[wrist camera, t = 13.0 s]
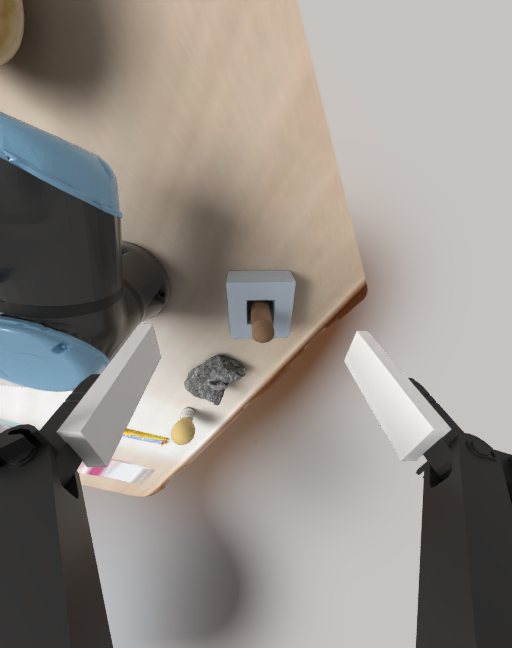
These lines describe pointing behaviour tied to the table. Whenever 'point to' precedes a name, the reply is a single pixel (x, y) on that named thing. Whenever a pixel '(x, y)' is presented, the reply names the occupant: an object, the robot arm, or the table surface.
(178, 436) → the light bulb
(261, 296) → the socket
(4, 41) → the decorative ball
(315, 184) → the table surface
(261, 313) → the peg
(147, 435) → the candy bar
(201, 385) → the rock
